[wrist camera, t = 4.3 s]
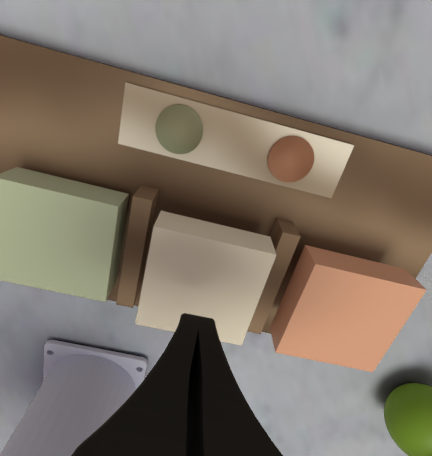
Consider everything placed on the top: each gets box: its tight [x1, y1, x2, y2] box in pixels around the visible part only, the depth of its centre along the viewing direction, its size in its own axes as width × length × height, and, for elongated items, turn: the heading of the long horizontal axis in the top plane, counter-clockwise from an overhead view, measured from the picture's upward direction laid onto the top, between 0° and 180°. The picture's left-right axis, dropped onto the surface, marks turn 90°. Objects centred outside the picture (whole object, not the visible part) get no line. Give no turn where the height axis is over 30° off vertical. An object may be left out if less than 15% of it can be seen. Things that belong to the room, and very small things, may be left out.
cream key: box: [135, 211, 276, 345], centre depth 17 cm, size 6×6×2 cm
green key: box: [0, 167, 129, 302], centre depth 17 cm, size 6×6×2 cm
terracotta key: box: [270, 245, 426, 372], centre depth 18 cm, size 6×6×2 cm
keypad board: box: [0, 35, 432, 334], centre depth 18 cm, size 14×27×4 cm, turn 76°
